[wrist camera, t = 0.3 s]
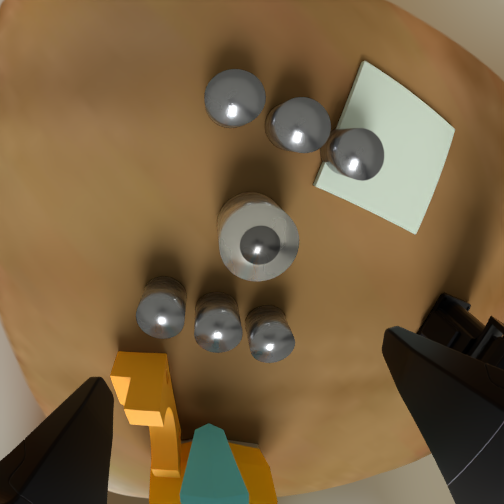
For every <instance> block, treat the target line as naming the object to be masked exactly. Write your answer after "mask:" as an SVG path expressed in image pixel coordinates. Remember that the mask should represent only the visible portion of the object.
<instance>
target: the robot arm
mask: <svg viewBox="0 0 504 504" xmlns="http://www.w3.org/2000/svg"><path fill="white" fill-rule="evenodd" d="M470 306H471V305H470V304H469V303H468V302H465V301H463V300H460V299H458V298H455V297H453V296H450V295H448V294H446V293H443V294H442V295H441V296H440V298H439V299H438V301H437V303H436V305H435V306H434V308H433V310H432V312H431V313H430V315H429V317H428V318H427V320H426V321H425V323H424V325H423V326H422V328H421V329H420V331H419V333H418V334H416V333H413V332H411V331H408V330H406V329H404V328H401V327H399V326H394V327H391V328H388V329H386V331H385V333H384V339H383V345H382V353H383V356H384V359H385V361H386V363H387V366H388V368H389V370H390V373H391V375H392V377H393V380H394V382H395V384H396V387H397V389H398V391H399V393H400V395H401V397H402V399H403V400H404V402H405V404H406V406H407V408H408V410H409V411H410V413H411V415H412V417H413V419H414V421H415V422H416V424H417V426H418V428H419V430H420V432H421V434H422V436H423V438H424V439H425V441H426V443H427V445H428V447H429V449H430V451H431V453H432V455H433V457H434V459H435V461H436V463H437V465H438V467H439V469H440V471H441V473H442V475H443V477H444V479H445V481H446V484H447V485H448V488H449V490H450V493H451V495H452V497H453V499H454V501H455V503H456V504H504V336H503V337H501V336H502V335H504V324H503V323H502V322H500V321H499V320H497V319H496V318H494V317H492V316H490V318H489V320H488V323H487V324H486V326H485V325H483V324H482V323H481V322H480V321H479V320H478V319H476V318H475V317H474V316H473V315H472V314H471V313H469V312H468V311H469V309H470ZM113 408H114V397H113V394H112V392H111V391H110V389H109V387H108V386H107V384H106V382H105V381H104V379H103V378H102V377H90V378H89V379H88V380H86V381H85V382H84V383H83V384H82V385H81V386H80V387H79V388H78V389H77V390H76V391H75V392H74V393H73V394H71V395H70V396H69V397H68V398H67V399H66V400H65V401H64V402H63V403H62V404H61V405H60V406H59V407H58V408H57V409H55V410H54V411H53V412H52V413H51V414H50V415H49V416H48V417H47V418H46V419H45V420H44V421H43V422H42V423H41V424H40V425H39V426H38V427H37V428H36V429H34V431H32V432H31V433H30V434H29V435H28V436H27V437H26V438H25V440H23V441H22V442H21V443H20V444H19V445H18V446H17V447H16V448H15V449H13V450H12V452H10V453H9V454H8V455H7V456H6V457H5V458H3V459H2V460H1V461H0V504H107V492H108V478H109V467H110V457H111V448H112V439H113Z"/></svg>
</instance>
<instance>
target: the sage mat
mask: <svg viewBox="0 0 504 504" xmlns="http://www.w3.org/2000/svg"><path fill="white" fill-rule="evenodd" d="M342 128H365V129H368V130H370V131H372V132H374V133H375V134H376V135H377V136H378V137H379V139H380V140H381V142H382V145H383V148H384V162H383V165H382V168H381V169H380V171H379V172H378V174H377V175H376V176H374V177H373V178H371V179H369V180H364V181H360V180H355V179H352V178H349V177H346V176H343V175H340V174H337V173H335V172H333V171H332V170H331V169H330V168H329V167H328V166H327V164H326V163H325V162H322V165H321V167H320V169H319V172H318V174H317V177H316V179H315V181H314V184H313V185H314V186H316V187H318V188H320V189H323V190H325V191H327V192H329V193H332V194H334V195H336V196H338V197H340V198H343V199H345V200H347V201H349V202H351V203H353V204H356V205H358V206H360V207H362V208H364V209H366V210H368V211H370V212H372V213H374V214H376V215H378V216H380V217H382V218H384V219H386V220H388V221H390V222H392V223H394V224H396V225H398V226H400V227H402V228H404V229H406V230H408V231H410V232H411V233H413V234H415V235H416V233H417V231H418V229H419V227H420V224H421V222H422V220H423V217H424V215H425V213H426V210H427V208H428V205H429V203H430V201H431V198H432V196H433V193H434V190H435V188H436V185H437V183H438V180H439V177H440V174H441V172H442V169H443V166H444V163H445V160H446V157H447V154H448V151H449V148H450V145H451V142H452V138H453V135H454V132H455V129H454V128H453V127H452V126H451V125H450V124H449V123H448V122H446V121H445V120H444V119H443V118H442V117H441V116H440V115H439V114H437V113H436V112H435V111H434V110H433V109H431V108H430V107H429V106H428V105H427V104H425V103H424V102H423V101H422V100H420V99H419V98H418V97H417V96H415V95H414V94H413V93H411V92H410V91H409V90H407V89H406V88H405V87H403V86H402V85H401V84H399V83H398V82H396V81H395V80H394V79H392V78H391V77H389V76H388V75H386V74H385V73H383V72H382V71H380V70H379V69H377V68H376V67H374V66H373V65H371V64H369V63H368V62H366V61H363V62H361V65H360V68H359V70H358V73H357V76H356V78H355V81H354V84H353V86H352V89H351V92H350V94H349V97H348V99H347V102H346V104H345V107H344V110H343V112H342V115H341V117H340V120H339V122H338V125H337V127H336V129H342Z"/></svg>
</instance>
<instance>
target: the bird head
mask: <svg viewBox="0 0 504 504" xmlns="http://www.w3.org/2000/svg"><path fill="white" fill-rule="evenodd" d="M277 502H278V501H277V497H276V493H275V488H274V484H273V480H272V475H271V471H270V467H269V465H268V463H267V462H266V460H265V458H264V456H263V455H262V453H261V451H260V449H259V446H258V444H254V443H246V442H239V441H232V440H227V438H226V435H225V433H224V430H223V429H221V428H218V427H216V426H214V425H212V424H210V423H208V424H206V425H204V426H202V427H200V428H198V429H195V433H194V437H193V439H190V440H183V441H181V478H169V477H155V476H154V474H153V472H152V470H151V472H150V491H149V504H277Z"/></svg>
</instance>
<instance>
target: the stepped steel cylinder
mask: <svg viewBox="0 0 504 504" xmlns="http://www.w3.org/2000/svg"><path fill="white" fill-rule="evenodd" d="M217 231H218V241H219V250H220V255H221V258H222V260H223V262H224V264H225V266H226V267H227V268H228V269H229V270H230V271H231V272H232V273H233V274H234V275H236V276H238V277H240V278H242V279H245V280H249V281H265V280H269V279H272V278H274V277H276V276H278V275H280V274H281V273H283V272H284V271H285V270H286V269H287V268H288V267H289V266H290V265H291V264H292V262H293V261H294V259H295V257H296V255H297V252H298V248H299V235H298V231H297V228H296V226H295V224H294V222H293V221H292V219H291V218H290V217H289V216H288V215H287V214H286V213H285V212H284V211H283V210H282V209H281V208H280V207H279V206H278V205H277V204H276V203H275V202H274V201H273V200H272V199H270V198H269V197H267V196H266V195H263V194H261V193H257V192H245V193H241V194H238V195H236V196H234V197H232V198H231V199H230V200H228V201H227V202H226V203H225V205H224V206H223V207H222V209H221V211H220V213H219V216H218V220H217Z"/></svg>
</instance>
